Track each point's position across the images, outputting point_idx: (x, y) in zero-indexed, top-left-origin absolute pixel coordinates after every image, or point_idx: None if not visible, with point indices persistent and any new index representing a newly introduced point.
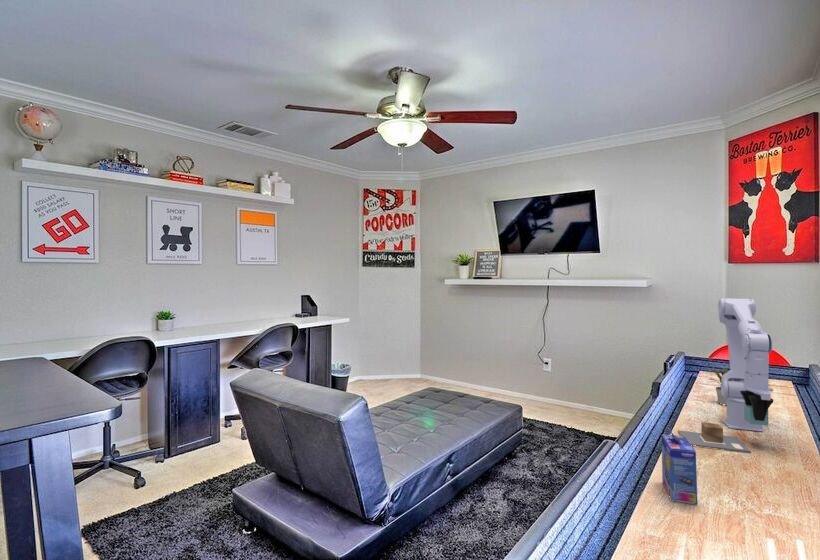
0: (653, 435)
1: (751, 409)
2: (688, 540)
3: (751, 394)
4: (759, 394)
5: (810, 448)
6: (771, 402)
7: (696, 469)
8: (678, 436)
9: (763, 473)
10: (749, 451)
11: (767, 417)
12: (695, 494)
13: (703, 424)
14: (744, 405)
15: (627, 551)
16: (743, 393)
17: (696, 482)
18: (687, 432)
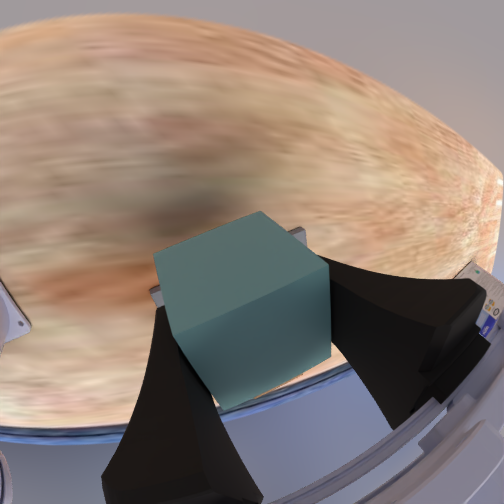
0: (276, 404)
1: (328, 350)
2: (491, 251)
3: (242, 482)
4: (449, 405)
5: (79, 24)
6: (463, 286)
7: (499, 281)
8: (495, 323)
9: (412, 197)
10: (304, 233)
11: (292, 240)
12: (479, 267)
13: (278, 386)
14: (225, 406)
15: None
16: (260, 493)
17: (489, 273)
18: None
